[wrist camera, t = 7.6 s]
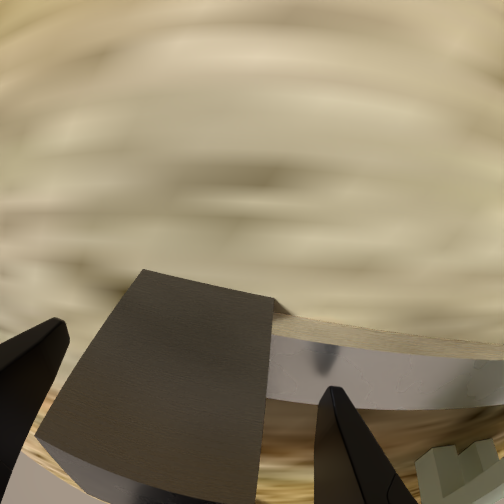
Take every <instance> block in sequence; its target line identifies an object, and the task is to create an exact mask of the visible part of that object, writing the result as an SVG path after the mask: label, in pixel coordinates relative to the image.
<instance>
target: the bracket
mask: <svg viewBox="0 0 504 504" xmlns="http://www.w3.org/2000/svg"><path fill="white" fill-rule="evenodd" d="M415 467H416V472H417V478H418V484H419V490H420V496H421V503H422V504H494V503H495V502H497V501H499V500H500V499H502V498H504V457H503V458H502V459H500V460H499V458H498V454H497V451H496V448H495V445H494V442H493V439H492V438H491V439H487V440H482V441H476V442H474V443H473V444H472V445H470V446H469V447H468V448H467V449H466V450H464V451H463V452H462V453H461V454H460V455H457V451H456V447H455V445H452V446H444V447H436V448H432V449H430V450H429V451H428V452H427V453H426V454H424V455H423V456H422V457H421V458H419V459H418V460H417V461H416V462H415Z"/></svg>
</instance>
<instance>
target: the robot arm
mask: <svg viewBox="0 0 504 504" xmlns="http://www.w3.org/2000/svg"><path fill="white" fill-rule="evenodd" d="M69 343H70V337H69V333H68V330H67V326H66V323H65V321H64V320H61V319H59V318H56V317H54V318H51V319H49V320H47V321H45V322H43V323H41V324H39V325H37V326H35V327H33V328H31V329H29V330H27V331H25V332H23V333H21V334H19V335H17V336H15V337H13V338H11V339H9V340H7V341H5V342H3V343H1V344H0V504H1V501H2V498H3V495H4V492H5V490H6V487H7V484H8V481H9V479H10V476H11V474H12V470H13V468H14V465H15V463H16V460H17V458H18V456H19V453H20V451H21V449H22V446H23V444H24V442H25V439H26V437H27V435H28V433H29V431H30V428H31V426H32V424H33V422H34V420H35V418H36V416H37V414H38V411H39V409H40V407H41V405H42V403H43V401H44V399H45V397H46V395H47V393H48V391H49V390H50V388H51V386H52V384H53V382H54V380H55V377H56V375H57V372H58V370H59V367H60V365H61V362H62V360H63V358H64V355H65V353H66V351H67V348H68V346H69ZM314 504H418V503H417V501H416V500H415V499H414V497H413V496H412V495H411V493H410V492H409V491H408V489H407V488H406V486H405V485H404V483H403V482H402V480H401V479H400V477H399V475H398V474H397V473H396V471H395V469H394V468H393V466H392V465H391V463H390V461H389V460H388V458H387V457H386V455H385V453H384V452H383V450H382V449H381V447H380V446H379V444H378V442H377V441H376V439H375V438H374V436H373V435H372V433H371V431H370V430H369V428H368V427H367V425H366V424H365V422H364V420H363V419H362V417H361V416H360V414H359V413H358V411H357V409H356V408H355V406H354V405H353V403H352V402H351V400H350V399H349V397H348V395H347V394H346V392H345V391H344V389H343V388H342V387H340V386H329V387H328V388H327V389H326V391H325V392H324V394H323V396H322V397H321V399H320V401H319V404H318V413H317V424H316V434H315V443H314Z"/></svg>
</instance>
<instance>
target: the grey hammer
mask: <svg viewBox="0 0 504 504" xmlns="http://www.w3.org/2000/svg"><path fill="white" fill-rule="evenodd" d="M273 308H274V298H271V297H266V296H261V295H256V294H251V293H246V292H242V291H237V290H232V289H228V288H223V287H218V286H214V285H209V284H205V283H200V282H196V281H191V280H187V279H183V278H178V277H174V276H170V275H166V274H161V273H157V272H153V271H149V270H145V269H143V270H142V271H141V273H140V274H139V275H138V277H137V278H136V279H135V281H134V282H133V283H132V285H131V286H130V287H129V289H128V290H127V292H126V293H125V294H124V296H123V297H122V298H121V300H120V301H119V303H118V304H117V305H116V307H115V308H114V310H113V311H112V313H111V314H110V315H109V317H108V318H107V320H106V321H105V323H104V324H103V326H102V327H101V328H100V330H99V331H98V333H97V334H96V336H95V337H94V339H93V340H92V342H91V343H90V345H89V346H88V348H87V349H86V351H85V352H84V354H83V355H82V357H81V358H80V360H79V362H78V363H77V365H76V366H75V368H74V369H73V371H72V373H71V374H70V376H69V377H68V379H67V381H66V382H65V384H64V385H63V387H62V389H61V390H60V392H59V394H58V395H57V397H56V399H55V400H54V402H53V404H52V405H51V407H50V409H49V410H48V412H47V414H46V416H45V417H44V419H43V421H42V423H41V424H40V426H39V428H38V430H37V432H36V433H35V435H34V436H35V437H36V438H37V440H38V441H39V442H40V443H41V445H42V446H43V447H44V448H45V449H46V451H47V452H48V453H49V454H50V455H51V456H52V458H53V459H54V460H55V461H56V462H57V463H58V464H59V465H60V467H61V468H62V469H63V470H64V471H65V472H66V473H67V474H68V475H69V476H70V477H71V478H72V479H73V480H74V481H75V482H76V483H77V484H78V485H79V486H80V487H81V488H82V489H83V490H84V491H85V492H86V493H87V494H89V495H91V496H93V497H96V498H98V499H101V500H103V501H105V502H108V503H110V504H255V497H256V489H257V480H258V471H259V462H260V453H261V443H262V434H263V424H264V414H265V403H266V398H270V399H277V400H283V401H290V402H298V403H306V404H314V405H318V404H319V401H320V399H321V397H322V396H323V394H324V392H325V391H326V389H327V388H328V387H329V386H340V387H342V388H343V389H344V391H345V392H346V394H347V395H348V397H349V399H350V400H351V402H352V403H353V405H354V406H355V408H361V409H382V410H439V409H459V408H473V407H484V406H493V405H502V404H504V344H492V343H481V342H470V341H460V340H451V339H442V338H434V337H426V336H418V335H410V334H403V333H395V332H388V331H382V330H375V329H368V328H362V327H355V326H349V325H343V324H337V323H331V322H325V321H320V320H314V319H308V318H303V317H298V316H292V315H287V314H282V313H277V312H273Z"/></svg>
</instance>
